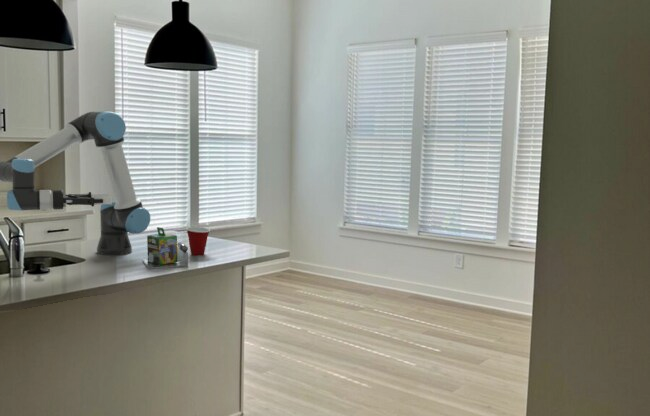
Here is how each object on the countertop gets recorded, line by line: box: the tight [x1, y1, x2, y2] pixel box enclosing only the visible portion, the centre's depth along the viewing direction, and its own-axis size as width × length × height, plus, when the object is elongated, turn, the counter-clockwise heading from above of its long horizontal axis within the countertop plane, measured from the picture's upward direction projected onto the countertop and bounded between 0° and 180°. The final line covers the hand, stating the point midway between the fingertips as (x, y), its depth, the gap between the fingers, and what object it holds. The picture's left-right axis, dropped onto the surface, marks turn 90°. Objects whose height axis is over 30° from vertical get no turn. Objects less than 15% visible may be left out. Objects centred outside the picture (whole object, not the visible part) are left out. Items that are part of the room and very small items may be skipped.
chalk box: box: [146, 226, 178, 265], centre depth 256 cm, size 9×9×15 cm
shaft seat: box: [142, 241, 189, 270], centre depth 256 cm, size 16×16×8 cm
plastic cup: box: [185, 226, 211, 256], centre depth 280 cm, size 11×11×12 cm
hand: (110, 198), depth 245 cm, fingers open, 13 cm apart
